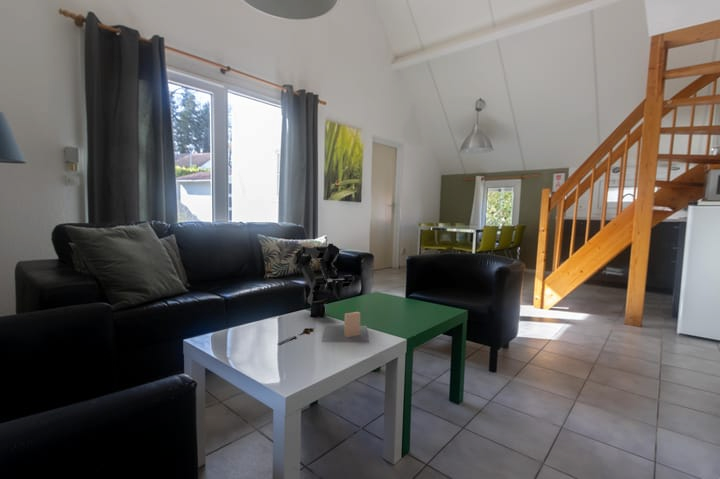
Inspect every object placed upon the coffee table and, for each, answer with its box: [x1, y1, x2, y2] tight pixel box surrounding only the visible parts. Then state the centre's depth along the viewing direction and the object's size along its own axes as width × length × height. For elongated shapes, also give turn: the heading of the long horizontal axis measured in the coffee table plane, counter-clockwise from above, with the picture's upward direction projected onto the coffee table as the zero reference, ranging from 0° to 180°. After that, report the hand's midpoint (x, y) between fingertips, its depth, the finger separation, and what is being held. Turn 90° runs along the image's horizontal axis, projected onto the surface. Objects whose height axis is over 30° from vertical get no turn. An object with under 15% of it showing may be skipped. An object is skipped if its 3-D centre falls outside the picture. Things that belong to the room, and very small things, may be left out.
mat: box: [321, 324, 370, 344], centre depth 142 cm, size 18×20×1 cm
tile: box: [343, 311, 361, 337], centre depth 139 cm, size 2×6×9 cm, turn 121°
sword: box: [276, 327, 315, 346], centre depth 136 cm, size 25×4×2 cm, turn 147°
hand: (339, 298), depth 148 cm, fingers closed
